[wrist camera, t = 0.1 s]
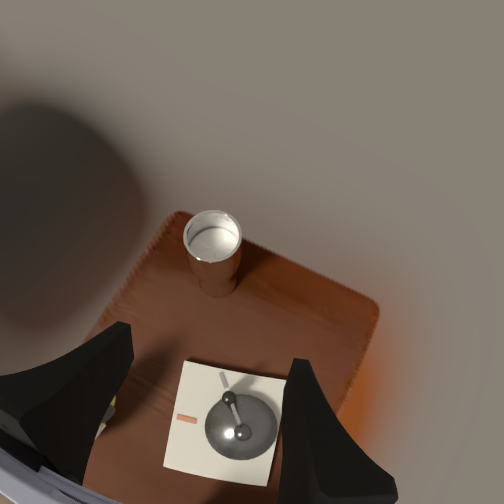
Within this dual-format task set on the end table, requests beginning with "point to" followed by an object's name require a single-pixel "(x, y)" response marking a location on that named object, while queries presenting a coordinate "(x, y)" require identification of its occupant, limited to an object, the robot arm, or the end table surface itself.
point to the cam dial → (240, 426)
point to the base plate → (194, 415)
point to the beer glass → (214, 251)
